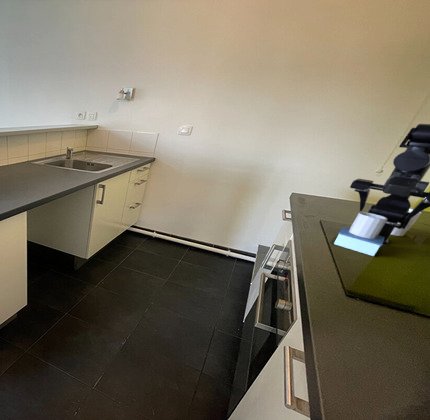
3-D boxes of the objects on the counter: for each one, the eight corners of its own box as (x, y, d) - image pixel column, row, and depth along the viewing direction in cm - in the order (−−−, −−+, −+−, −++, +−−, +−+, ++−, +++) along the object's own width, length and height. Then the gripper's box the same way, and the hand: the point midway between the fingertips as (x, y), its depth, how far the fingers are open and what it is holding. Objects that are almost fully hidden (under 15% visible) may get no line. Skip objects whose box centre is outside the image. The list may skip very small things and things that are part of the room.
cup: (350, 229, 86) (360, 210, 83) (376, 236, 81) (388, 217, 79) (347, 233, 83) (357, 214, 80) (374, 240, 78) (386, 220, 76)
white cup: (412, 238, 92) (429, 214, 89) (387, 235, 94) (403, 211, 90) (390, 229, 100) (405, 206, 96) (367, 226, 101) (381, 204, 97)
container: (337, 237, 90) (343, 226, 88) (377, 249, 83) (384, 237, 81) (332, 243, 85) (339, 232, 83) (374, 256, 78) (382, 244, 76)
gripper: (359, 164, 76) (335, 210, 82) (470, 178, 62) (431, 233, 68) (365, 161, 82) (342, 205, 88) (467, 174, 68) (431, 224, 74)
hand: (382, 215), depth 79 cm, fingers open, 9 cm apart
